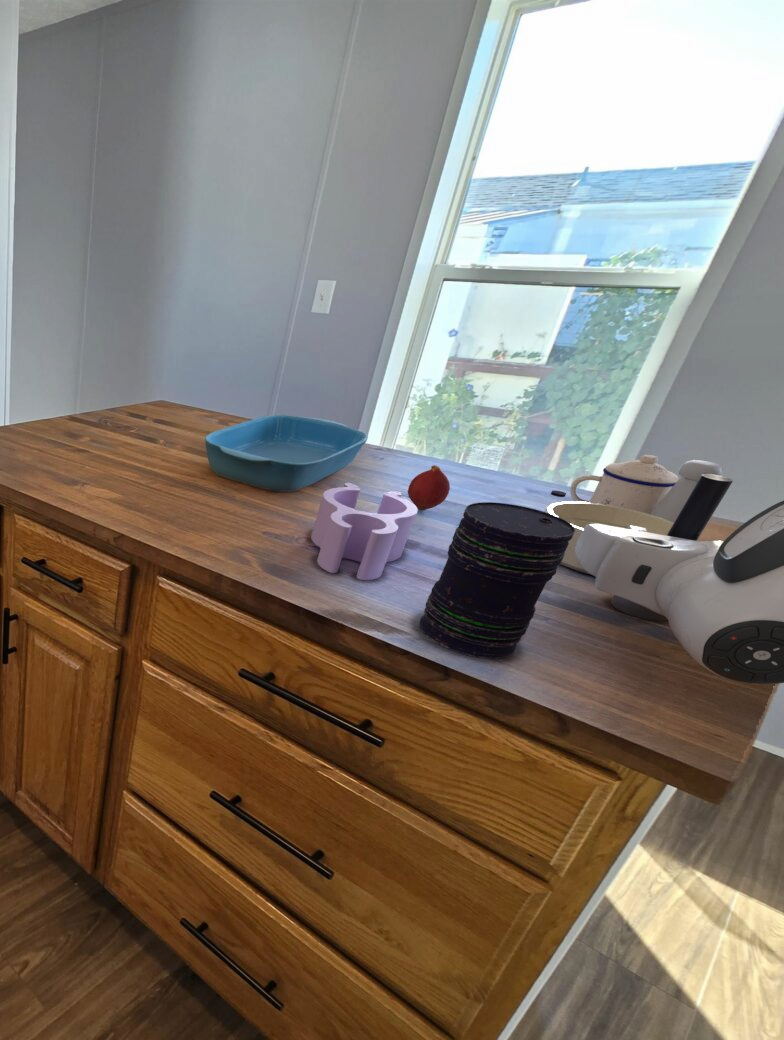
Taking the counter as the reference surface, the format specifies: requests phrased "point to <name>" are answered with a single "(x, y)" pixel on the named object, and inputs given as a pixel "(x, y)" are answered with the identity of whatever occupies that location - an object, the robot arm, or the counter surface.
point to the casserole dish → (282, 451)
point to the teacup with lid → (630, 484)
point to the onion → (429, 488)
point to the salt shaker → (684, 488)
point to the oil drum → (494, 578)
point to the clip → (361, 530)
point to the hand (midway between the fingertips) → (677, 539)
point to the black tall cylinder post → (685, 529)
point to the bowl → (605, 515)
